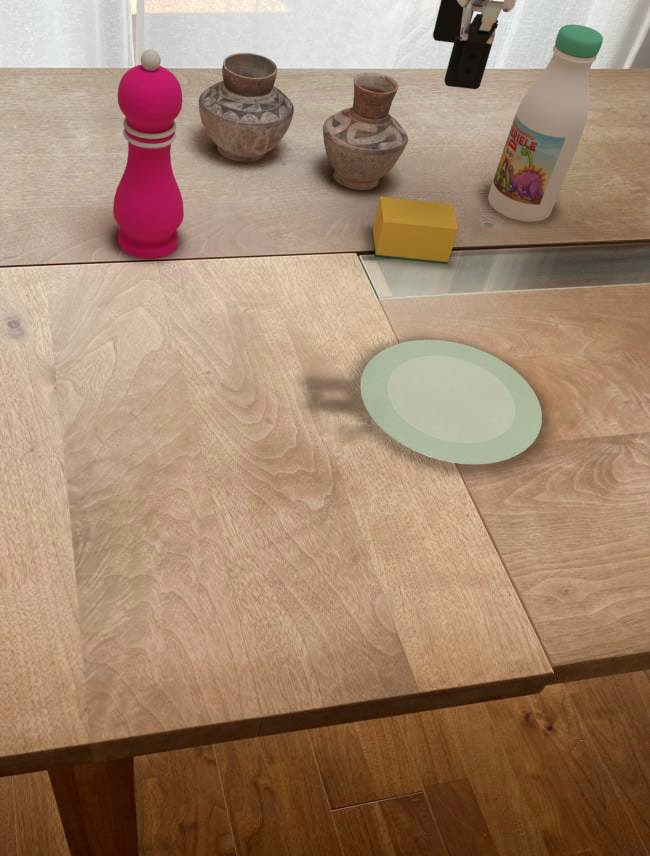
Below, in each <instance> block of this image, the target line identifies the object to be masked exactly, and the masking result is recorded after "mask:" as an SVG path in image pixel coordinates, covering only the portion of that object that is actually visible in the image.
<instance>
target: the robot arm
mask: <svg viewBox="0 0 650 856" xmlns="http://www.w3.org/2000/svg"><path fill="white" fill-rule="evenodd" d="M516 2H517V0H440V3H439V8H438V11H437V15H436V20H435V24H434V28H433V31H432V38H433V40H434V41H435V42H443V43H451V44H453V46H452V49H451V53H450V57H449V61H448V64H447V68H446V71H445V75H444V84H445V85H446V86H447V87H452V88H460V89H468V90H477V89H480V87H481V84H482V80H483V77H484V74H485V71H486V67H487V64H488V60H489V56H490V53H491V50H492V47H493V43H494V41H495V36H496V30H497V29H498V26H499V24H498V23H499V20H498V18H499V16H500V13H501V11H502V12H503V13H509V12H510V11H512V10H513V9H514V8H515V6H516ZM475 12H477V13H476V15H475V16H474V13H475ZM473 16H474V17H473Z"/></svg>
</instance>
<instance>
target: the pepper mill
mask: <svg viewBox="0 0 650 856" xmlns="http://www.w3.org/2000/svg"><path fill="white" fill-rule="evenodd" d="M117 87H118V88H117V104H118V107H119V109H120V111H121V113H122V115H124V119H123V121H122V125H123V131H122V133H123V134H122V135H123V137H124V139H125V140H126V141H127V147H128V149H127V161H126V164H125V168H124V171H123V174H122V175H121V178H120V180H119V183H118V185H117V187H116V190H115V193H114V197H113V205H112V212H113V214H112V215H113V219H114V220H115V222H116V224H117V225H118V226H119V229H118V233H117V234H118V235H117V238H118V246H119V247H120V249H121V250H122V251H123V252H125V253H126V254H128V255H130V256H132V257H135V258H138V259H144V260H156V259H157V260H159V259H162V258H167V257H168V256H170V255H172V254H173V253H174V252H175V251H176V250H177V248H178V245H179V235H178V234H179V232H178V231H177V230H178V229H179V227H181V225H182V223H183V221H184V215H185V213H184V212H185V211H184V201H183V200H184V199H183V196H182V192H181V189H180V188H179V187H180V186H179V185H178V182H177V180H176V177H175V174H174V171H173V166H172V158H171V157H172V156H171V151H172V150H171V148H172V143H174V142H175V141H176V138H177V133H176V130H177V123H176V121H175V119H176V118H178V116H179V115H180V113H181V112H182V111H181V110H182V109H183V101H184V100H183V89H182V86H181V84H180V81H179V80H178V78H177V76H176V75H175V74H174V73H173V72H172V71H171V70H169V69H168V68H166V67H164V66H161V56H160V54H159V52H158V51H157V50H155V49H152V48H148V49H145V50H144V51H143V52H142V53H141V56H140V64H137V65H135V66H133V67H131V68H130V69H128V70H127V71H126V72H125V73H124V74H123V75H122V77H121V79H120V81H119V84H118V86H117Z"/></svg>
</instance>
